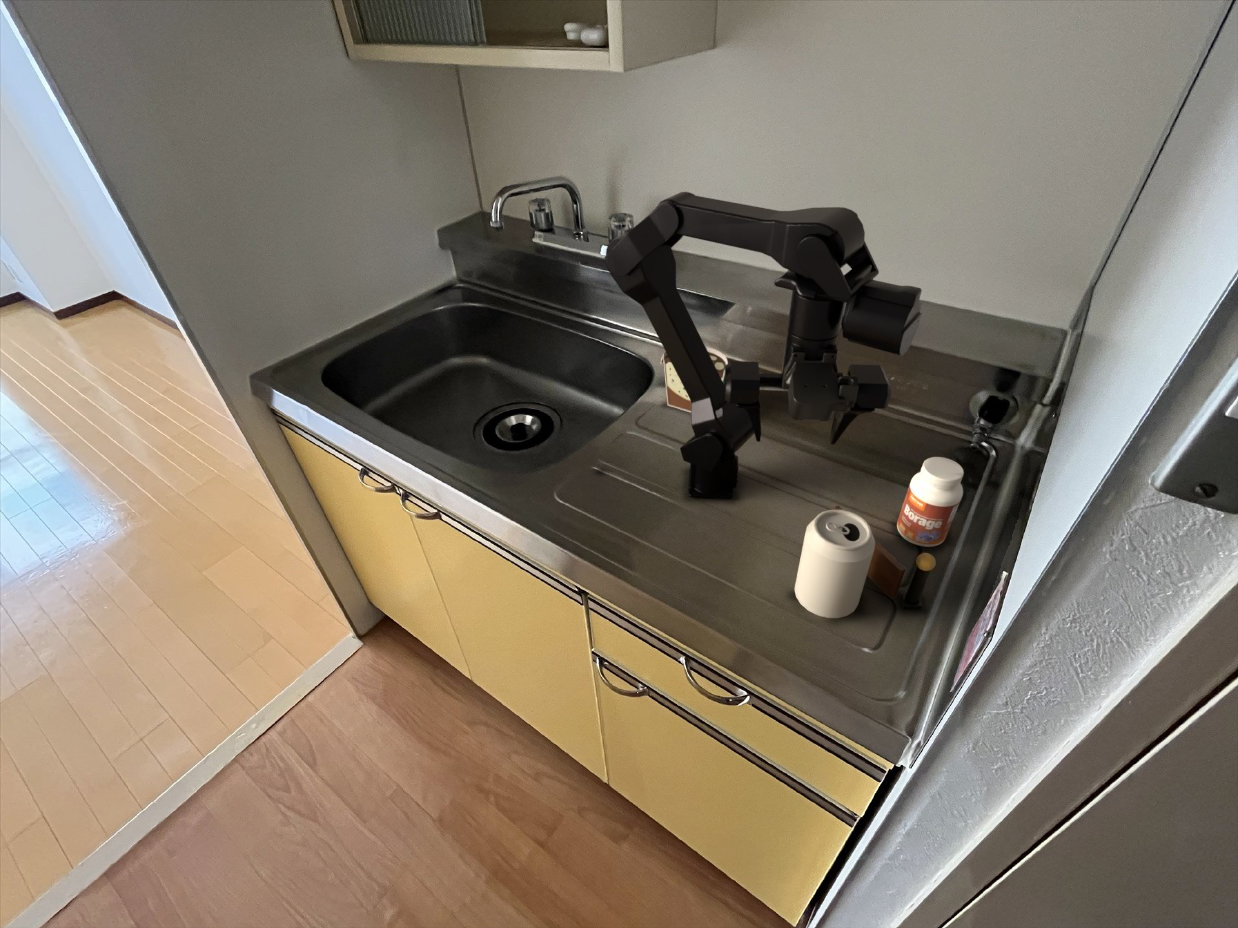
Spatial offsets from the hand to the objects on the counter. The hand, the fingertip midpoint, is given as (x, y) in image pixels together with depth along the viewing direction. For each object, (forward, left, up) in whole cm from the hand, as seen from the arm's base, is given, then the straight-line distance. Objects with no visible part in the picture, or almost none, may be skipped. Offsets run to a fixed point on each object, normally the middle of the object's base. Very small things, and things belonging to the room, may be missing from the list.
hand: (794, 441), depth 82 cm
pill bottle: (+18, -2, -13) cm, 22 cm away
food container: (-12, +28, -13) cm, 33 cm away
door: (+9, -9, -13) cm, 18 cm away
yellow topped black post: (+14, -14, -13) cm, 24 cm away
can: (+4, -14, -13) cm, 20 cm away
